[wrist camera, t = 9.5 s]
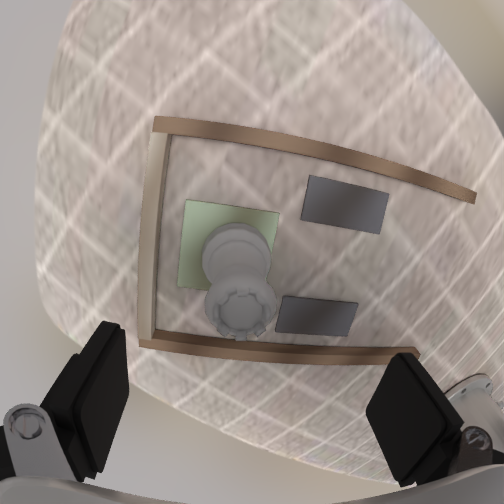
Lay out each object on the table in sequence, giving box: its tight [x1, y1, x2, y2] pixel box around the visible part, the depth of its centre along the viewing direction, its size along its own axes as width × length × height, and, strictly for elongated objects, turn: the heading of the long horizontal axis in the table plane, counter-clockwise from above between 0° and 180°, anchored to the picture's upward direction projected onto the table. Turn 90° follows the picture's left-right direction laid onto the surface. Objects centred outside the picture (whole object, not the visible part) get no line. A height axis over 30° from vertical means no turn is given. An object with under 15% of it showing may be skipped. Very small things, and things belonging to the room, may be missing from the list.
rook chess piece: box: [202, 223, 277, 341], centre depth 17 cm, size 4×4×8 cm
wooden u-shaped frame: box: [137, 116, 477, 365], centre depth 21 cm, size 24×16×2 cm, turn 80°
